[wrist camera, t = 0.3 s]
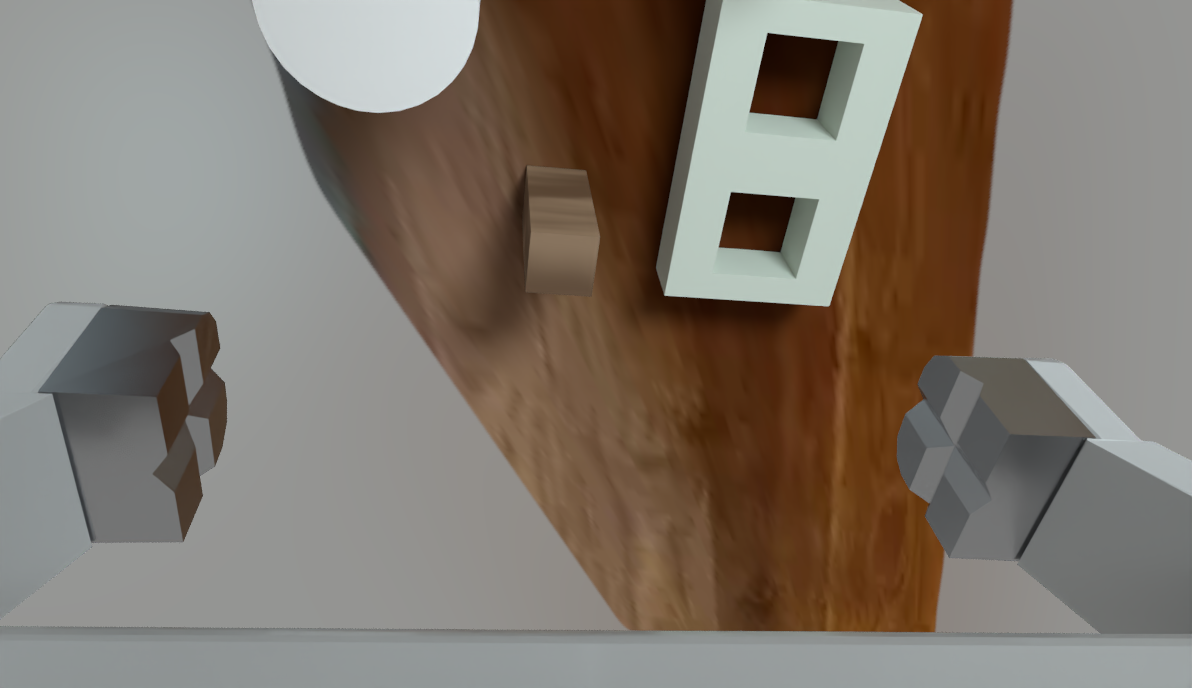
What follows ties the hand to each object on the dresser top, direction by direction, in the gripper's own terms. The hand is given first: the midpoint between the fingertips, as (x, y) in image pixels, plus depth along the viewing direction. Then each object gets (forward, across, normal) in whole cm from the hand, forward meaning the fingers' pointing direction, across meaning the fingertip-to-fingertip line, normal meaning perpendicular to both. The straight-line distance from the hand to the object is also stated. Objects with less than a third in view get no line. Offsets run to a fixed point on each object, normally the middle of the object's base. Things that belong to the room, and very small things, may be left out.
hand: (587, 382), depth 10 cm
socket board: (+47, -18, +13) cm, 52 cm away
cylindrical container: (+47, +5, +1) cm, 47 cm away
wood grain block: (+47, -4, +18) cm, 50 cm away
